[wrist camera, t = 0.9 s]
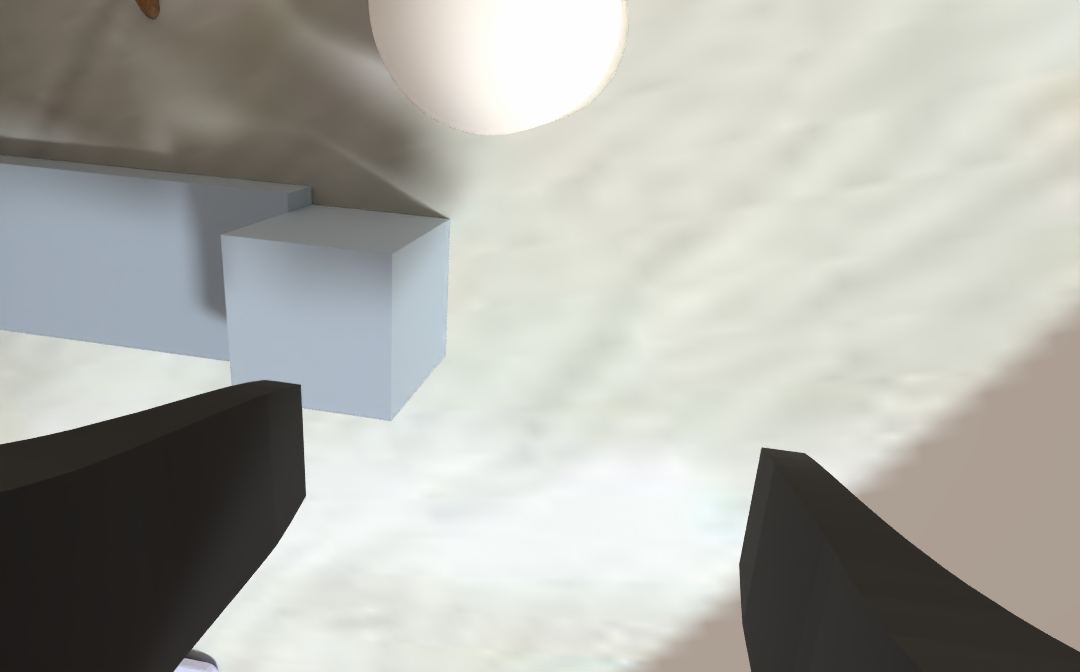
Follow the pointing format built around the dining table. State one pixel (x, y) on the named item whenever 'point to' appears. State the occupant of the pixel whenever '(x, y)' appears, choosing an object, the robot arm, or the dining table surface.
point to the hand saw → (149, 7)
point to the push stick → (227, 277)
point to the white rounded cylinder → (500, 57)
